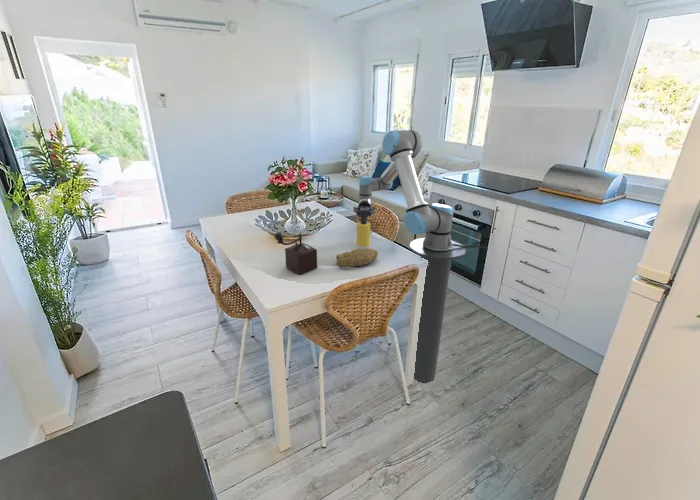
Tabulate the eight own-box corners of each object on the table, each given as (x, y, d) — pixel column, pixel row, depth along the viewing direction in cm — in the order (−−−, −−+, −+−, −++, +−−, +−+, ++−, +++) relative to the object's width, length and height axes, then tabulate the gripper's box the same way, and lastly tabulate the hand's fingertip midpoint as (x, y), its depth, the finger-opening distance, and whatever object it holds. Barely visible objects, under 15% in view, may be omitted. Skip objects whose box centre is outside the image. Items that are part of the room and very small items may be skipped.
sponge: (339, 273, 156) (383, 263, 157) (336, 257, 154) (379, 246, 155) (337, 265, 168) (377, 256, 169) (334, 250, 166) (374, 240, 168)
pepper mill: (302, 260, 164) (301, 224, 157) (317, 267, 157) (317, 230, 150) (275, 270, 154) (271, 232, 147) (289, 279, 147) (287, 239, 140)
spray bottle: (369, 242, 189) (371, 207, 182) (369, 247, 182) (371, 211, 174) (356, 241, 189) (357, 206, 182) (356, 247, 182) (357, 210, 175)
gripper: (375, 212, 206) (375, 225, 184) (353, 211, 207) (351, 224, 185) (376, 200, 203) (376, 211, 181) (353, 199, 204) (351, 210, 182)
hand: (363, 217), depth 183 cm, fingers closed
